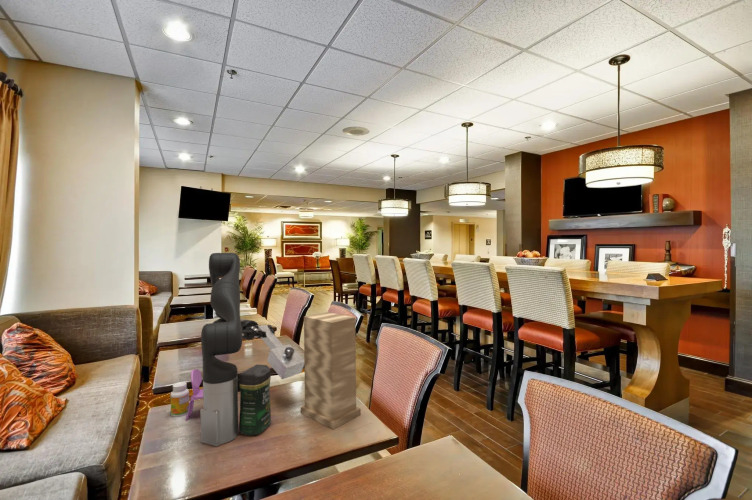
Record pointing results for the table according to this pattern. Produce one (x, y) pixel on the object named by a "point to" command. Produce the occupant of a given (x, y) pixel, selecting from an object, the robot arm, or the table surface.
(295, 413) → the table surface
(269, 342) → the lever cap
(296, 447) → the table surface
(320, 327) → the oak pedestal
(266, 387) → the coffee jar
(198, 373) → the toy chair
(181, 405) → the supplement bottle
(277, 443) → the table surface
